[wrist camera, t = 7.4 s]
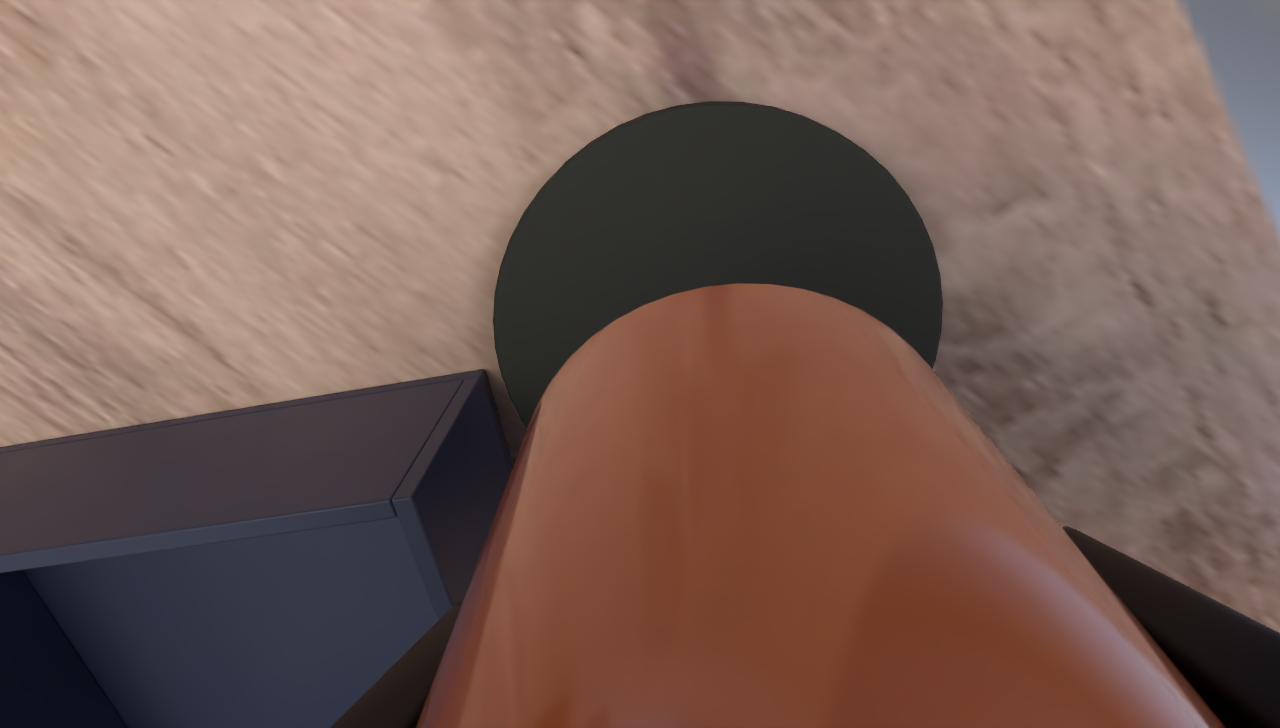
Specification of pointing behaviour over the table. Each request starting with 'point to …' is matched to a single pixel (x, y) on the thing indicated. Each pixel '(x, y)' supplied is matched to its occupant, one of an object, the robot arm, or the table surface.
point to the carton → (241, 556)
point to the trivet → (707, 232)
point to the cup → (782, 547)
